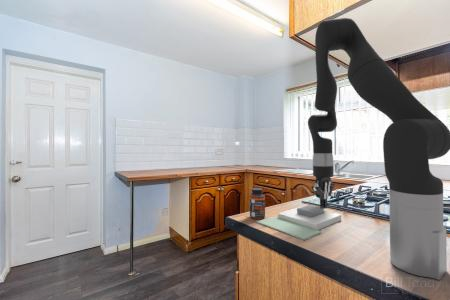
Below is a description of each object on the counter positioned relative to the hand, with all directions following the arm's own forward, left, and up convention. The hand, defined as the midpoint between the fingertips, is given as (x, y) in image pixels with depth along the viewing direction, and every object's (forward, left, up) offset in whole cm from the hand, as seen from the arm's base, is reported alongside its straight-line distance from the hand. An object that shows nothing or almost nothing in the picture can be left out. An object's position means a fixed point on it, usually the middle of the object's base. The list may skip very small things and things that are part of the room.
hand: (323, 207), depth 90 cm
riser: (0, +10, -3) cm, 10 cm away
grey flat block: (0, +9, -1) cm, 9 cm away
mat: (0, +23, -3) cm, 23 cm away
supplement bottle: (+14, +23, -3) cm, 27 cm away
